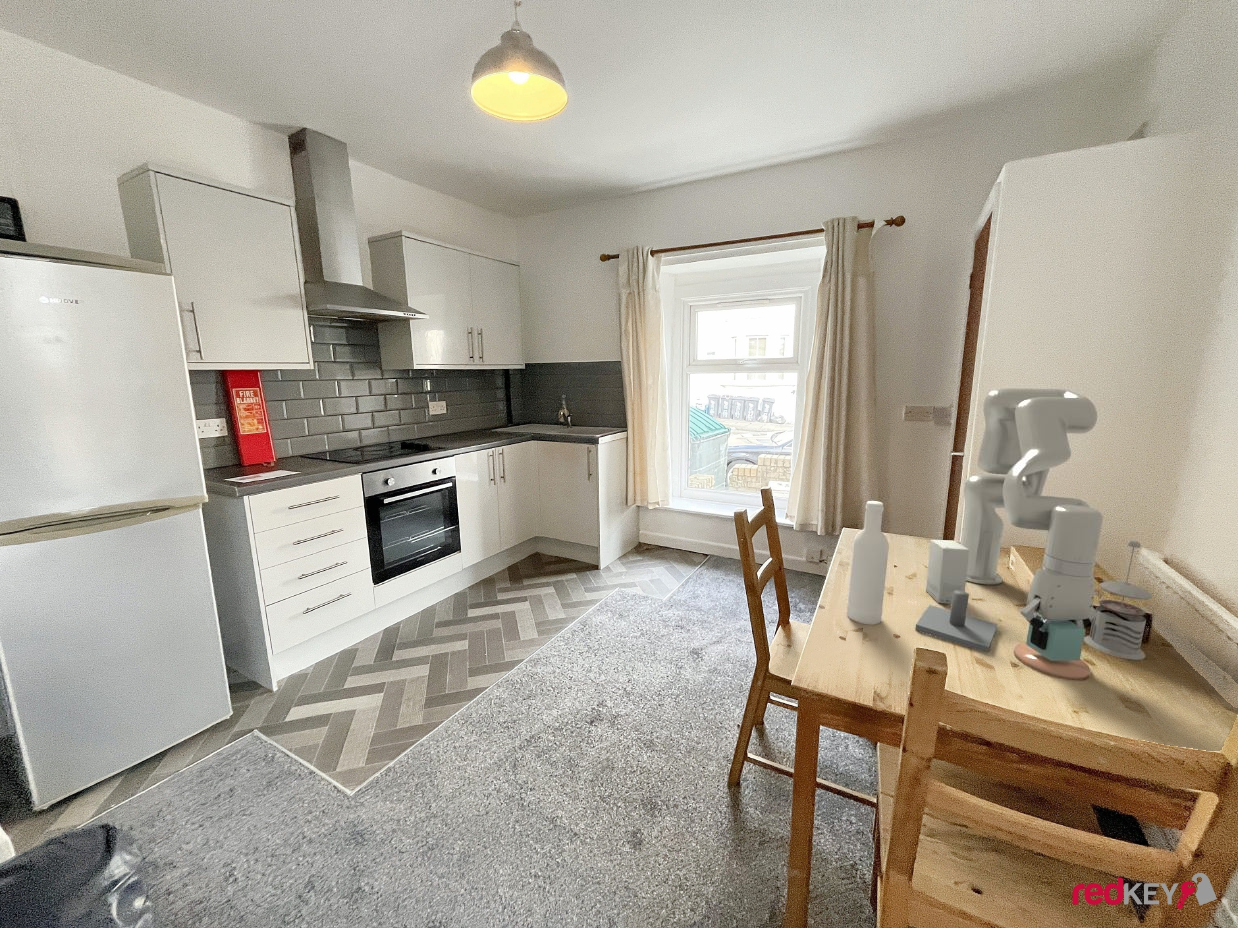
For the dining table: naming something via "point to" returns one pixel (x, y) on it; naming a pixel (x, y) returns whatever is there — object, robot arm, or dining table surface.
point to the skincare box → (946, 569)
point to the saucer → (1051, 664)
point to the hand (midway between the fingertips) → (1053, 645)
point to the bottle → (868, 568)
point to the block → (1061, 641)
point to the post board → (956, 634)
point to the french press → (1119, 620)
